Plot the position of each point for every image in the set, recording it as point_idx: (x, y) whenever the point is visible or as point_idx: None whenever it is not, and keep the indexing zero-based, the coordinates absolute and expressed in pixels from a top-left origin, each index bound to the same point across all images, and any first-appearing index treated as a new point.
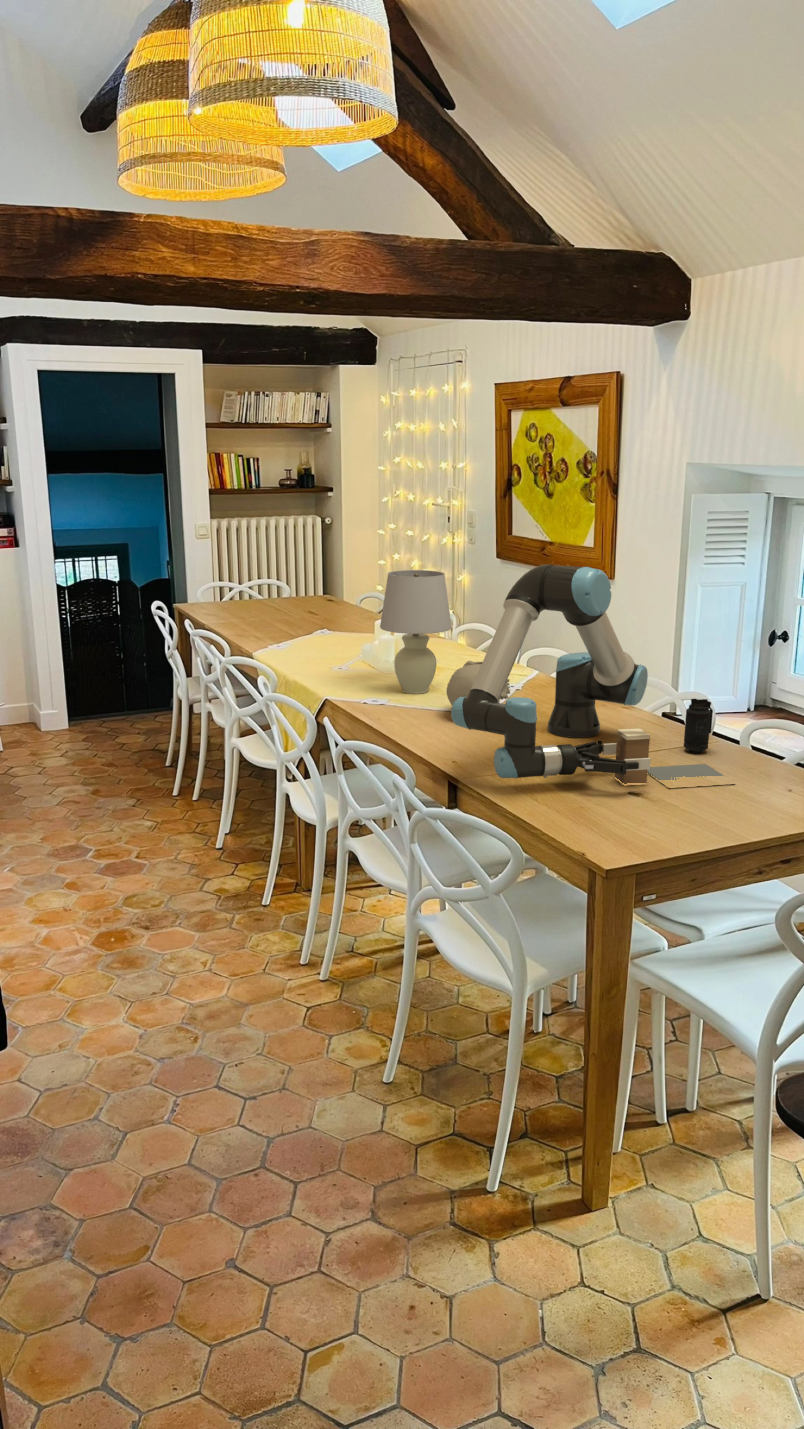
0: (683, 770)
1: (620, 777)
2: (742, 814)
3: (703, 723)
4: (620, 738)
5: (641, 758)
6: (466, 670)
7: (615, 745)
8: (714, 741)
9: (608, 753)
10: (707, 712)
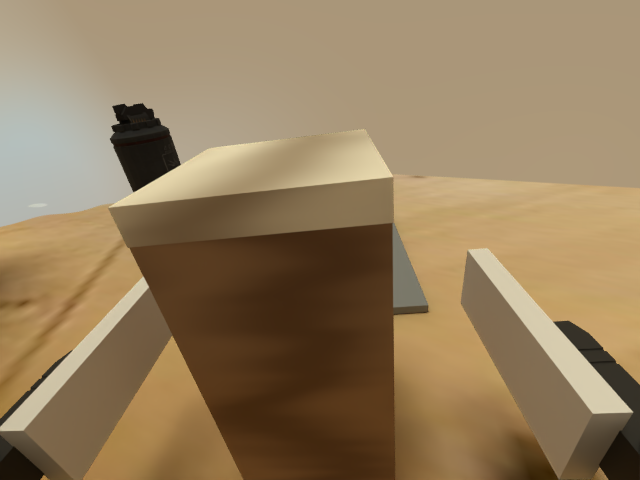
0: None
1: (331, 471)
2: (633, 227)
3: (173, 152)
4: (228, 264)
5: (498, 281)
6: None
7: (112, 342)
8: None
9: (104, 430)
10: (165, 127)
